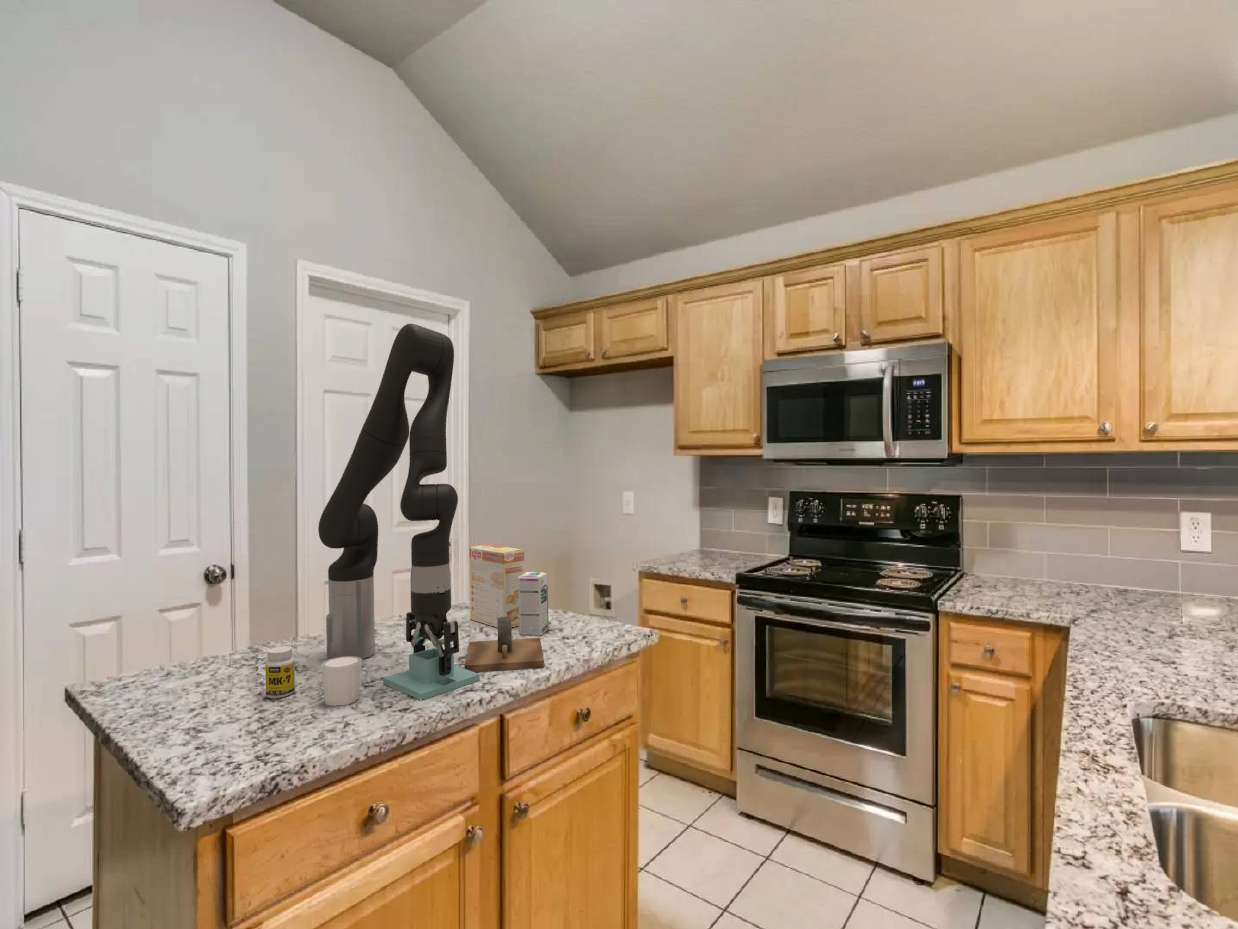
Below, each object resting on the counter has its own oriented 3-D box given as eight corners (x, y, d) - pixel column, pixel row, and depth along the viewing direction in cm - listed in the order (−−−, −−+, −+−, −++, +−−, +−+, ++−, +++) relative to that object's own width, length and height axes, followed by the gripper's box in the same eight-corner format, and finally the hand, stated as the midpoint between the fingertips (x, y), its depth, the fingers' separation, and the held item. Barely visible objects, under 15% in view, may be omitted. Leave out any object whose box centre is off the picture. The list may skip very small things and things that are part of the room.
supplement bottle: (265, 701, 116) (264, 654, 116) (266, 692, 120) (265, 647, 120) (295, 696, 118) (294, 650, 118) (294, 687, 123) (293, 643, 122)
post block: (464, 672, 130) (464, 631, 130) (469, 648, 146) (468, 611, 145) (544, 667, 133) (543, 626, 132) (540, 644, 148) (539, 607, 148)
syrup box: (541, 636, 155) (541, 576, 154) (518, 635, 156) (517, 575, 156) (548, 629, 160) (548, 571, 160) (526, 628, 162) (525, 571, 161)
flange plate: (383, 683, 124) (382, 655, 124) (440, 666, 134) (440, 639, 134) (421, 700, 116) (420, 670, 116) (479, 680, 126) (479, 652, 126)
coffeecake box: (526, 624, 165) (525, 549, 164) (503, 630, 160) (502, 552, 159) (491, 614, 175) (490, 543, 175) (469, 619, 170) (468, 546, 169)
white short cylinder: (353, 689, 121) (352, 653, 121) (368, 699, 116) (368, 661, 116) (315, 700, 117) (314, 661, 116) (329, 710, 112) (329, 671, 111)
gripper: (393, 585, 126) (394, 667, 127) (435, 595, 117) (437, 684, 118) (426, 579, 132) (427, 657, 132) (469, 588, 123) (470, 672, 123)
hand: (432, 669), depth 125 cm, fingers open, 8 cm apart
